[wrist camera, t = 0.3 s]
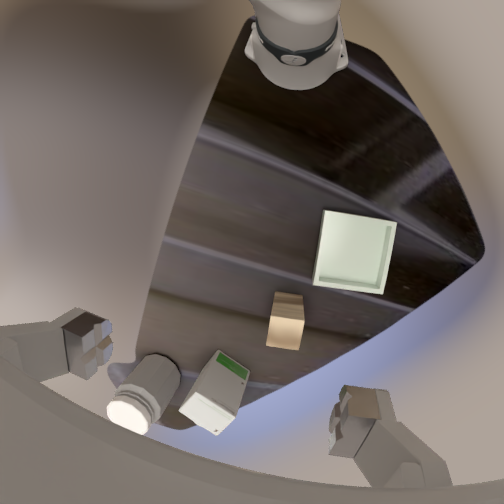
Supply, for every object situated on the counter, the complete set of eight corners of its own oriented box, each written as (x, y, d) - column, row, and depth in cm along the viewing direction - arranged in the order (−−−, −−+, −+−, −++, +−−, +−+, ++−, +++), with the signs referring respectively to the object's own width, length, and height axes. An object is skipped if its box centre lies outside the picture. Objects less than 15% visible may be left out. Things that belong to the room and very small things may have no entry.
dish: (323, 209, 54) (325, 210, 51) (390, 220, 53) (396, 222, 50) (311, 279, 57) (313, 284, 53) (377, 288, 56) (382, 294, 52)
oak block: (275, 291, 58) (270, 315, 46) (302, 295, 58) (304, 320, 46) (271, 316, 59) (266, 345, 47) (297, 320, 59) (298, 350, 47)
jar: (136, 375, 66) (99, 420, 48) (148, 343, 64) (107, 388, 46) (174, 395, 65) (144, 447, 48) (188, 366, 63) (158, 417, 46)
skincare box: (251, 370, 62) (239, 418, 47) (233, 390, 63) (217, 438, 48) (217, 347, 62) (195, 391, 46) (200, 368, 63) (176, 412, 48)
